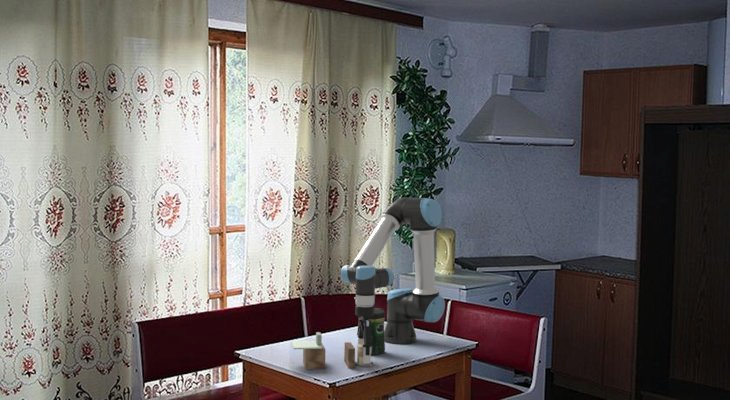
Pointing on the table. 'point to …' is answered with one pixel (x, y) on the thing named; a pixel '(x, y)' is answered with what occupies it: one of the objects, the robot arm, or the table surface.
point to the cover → (309, 343)
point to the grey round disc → (363, 365)
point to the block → (360, 354)
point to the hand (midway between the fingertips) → (363, 359)
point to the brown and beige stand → (317, 357)
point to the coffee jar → (377, 331)
